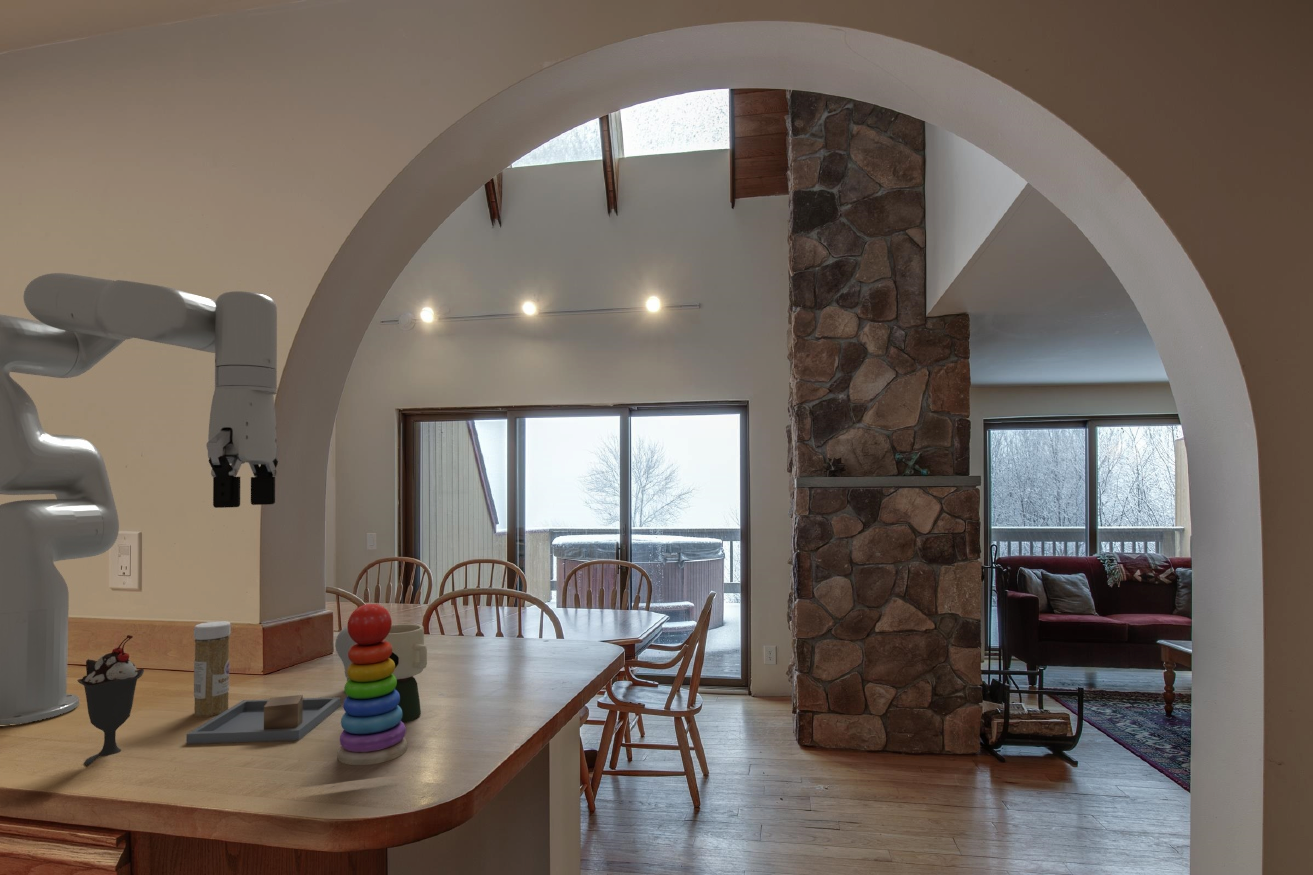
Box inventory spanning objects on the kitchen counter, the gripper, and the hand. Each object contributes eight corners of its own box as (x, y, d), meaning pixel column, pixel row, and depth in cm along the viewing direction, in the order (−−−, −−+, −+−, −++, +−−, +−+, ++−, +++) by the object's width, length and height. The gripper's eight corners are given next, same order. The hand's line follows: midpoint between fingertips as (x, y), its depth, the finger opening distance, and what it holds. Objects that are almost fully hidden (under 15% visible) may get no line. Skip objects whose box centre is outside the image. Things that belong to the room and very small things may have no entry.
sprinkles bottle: (230, 718, 105) (231, 623, 105) (192, 724, 102) (194, 627, 103) (228, 709, 109) (229, 618, 109) (192, 715, 106) (193, 622, 107)
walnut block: (263, 738, 94) (263, 706, 94) (269, 728, 98) (270, 697, 98) (297, 734, 95) (298, 703, 96) (302, 724, 99) (302, 694, 99)
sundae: (147, 757, 90) (150, 635, 91) (79, 774, 85) (82, 644, 86) (137, 744, 95) (140, 627, 96) (72, 758, 90) (75, 636, 91)
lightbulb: (340, 701, 112) (340, 628, 112) (331, 692, 117) (331, 622, 117) (381, 693, 116) (381, 623, 116) (370, 685, 120) (370, 617, 121)
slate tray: (186, 749, 93) (186, 733, 93) (243, 713, 107) (243, 699, 107) (298, 746, 93) (298, 730, 93) (340, 710, 107) (340, 697, 107)
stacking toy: (373, 742, 94) (374, 596, 95) (421, 752, 91) (421, 600, 92) (322, 765, 87) (323, 607, 88) (372, 776, 84) (373, 611, 85)
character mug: (349, 724, 101) (349, 630, 102) (389, 709, 107) (390, 620, 108) (405, 737, 96) (405, 637, 97) (444, 720, 102) (444, 626, 103)
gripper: (249, 390, 110) (249, 504, 109) (181, 374, 93) (180, 509, 92) (300, 389, 110) (300, 502, 109) (242, 373, 93) (241, 507, 92)
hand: (245, 505), depth 100 cm, fingers open, 9 cm apart
